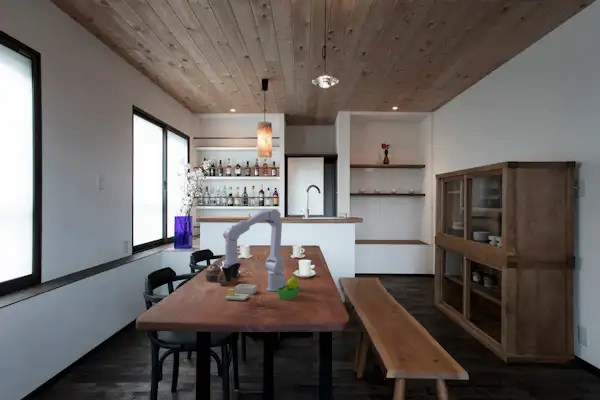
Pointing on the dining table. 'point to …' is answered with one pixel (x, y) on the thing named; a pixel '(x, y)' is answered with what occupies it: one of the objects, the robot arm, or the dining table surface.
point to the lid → (236, 295)
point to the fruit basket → (289, 289)
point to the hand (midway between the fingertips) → (231, 279)
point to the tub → (246, 289)
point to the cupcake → (213, 273)
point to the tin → (223, 280)
